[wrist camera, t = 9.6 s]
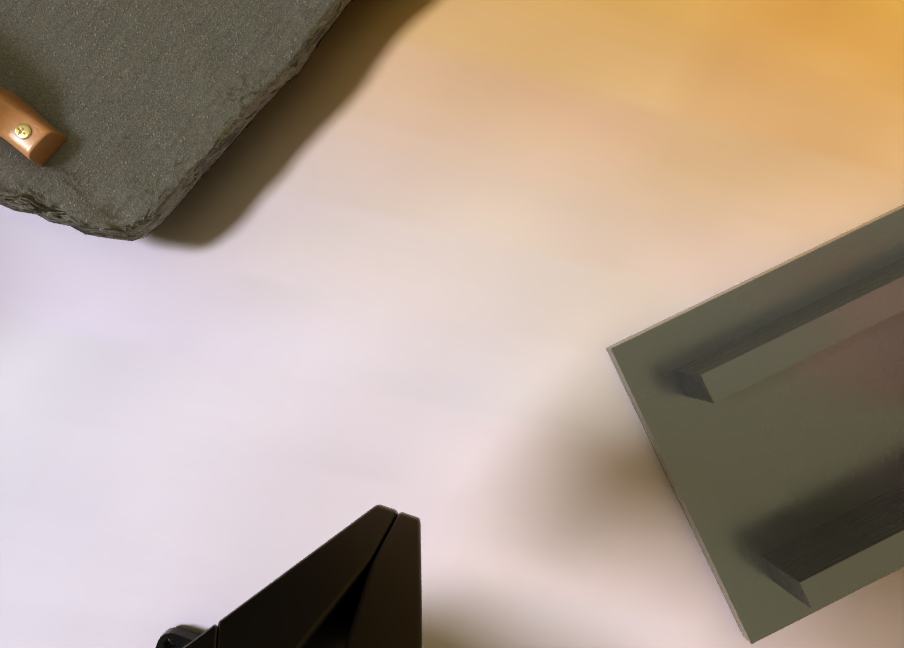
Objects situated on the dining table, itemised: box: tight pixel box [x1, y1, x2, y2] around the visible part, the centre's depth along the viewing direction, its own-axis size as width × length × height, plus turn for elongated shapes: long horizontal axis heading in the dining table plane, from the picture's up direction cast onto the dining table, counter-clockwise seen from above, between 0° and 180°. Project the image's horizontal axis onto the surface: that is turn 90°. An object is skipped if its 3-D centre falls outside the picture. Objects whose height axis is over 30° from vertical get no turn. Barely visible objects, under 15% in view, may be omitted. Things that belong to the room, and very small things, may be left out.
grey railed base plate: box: [606, 205, 904, 644], centre depth 22 cm, size 20×14×3 cm
